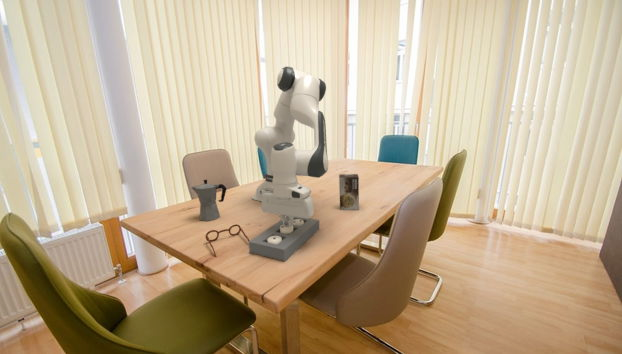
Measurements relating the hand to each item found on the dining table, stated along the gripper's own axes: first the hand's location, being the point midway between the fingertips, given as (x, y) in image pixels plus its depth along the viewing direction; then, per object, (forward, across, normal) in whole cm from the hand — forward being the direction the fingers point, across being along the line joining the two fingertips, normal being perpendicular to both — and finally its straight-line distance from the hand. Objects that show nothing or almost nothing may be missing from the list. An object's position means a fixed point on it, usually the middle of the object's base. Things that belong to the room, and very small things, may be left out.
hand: (287, 225), depth 98 cm
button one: (+5, -1, -8) cm, 10 cm away
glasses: (+6, -19, -11) cm, 23 cm away
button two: (+5, 0, +8) cm, 9 cm away
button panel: (+6, 0, 0) cm, 6 cm away
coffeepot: (+6, -44, +6) cm, 45 cm away
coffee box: (+6, +10, +41) cm, 42 cm away
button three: (+4, 0, 0) cm, 4 cm away
